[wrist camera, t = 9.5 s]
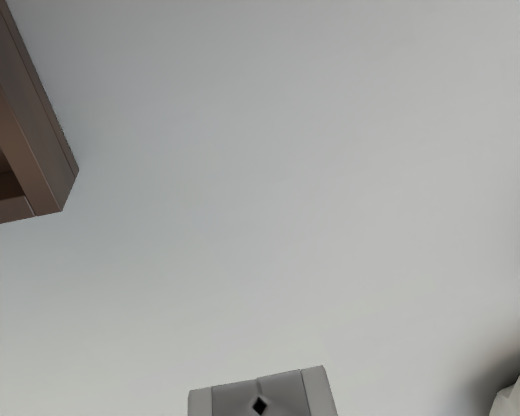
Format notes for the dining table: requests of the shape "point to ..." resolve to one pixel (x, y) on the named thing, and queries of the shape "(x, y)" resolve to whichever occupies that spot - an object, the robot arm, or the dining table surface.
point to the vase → (507, 401)
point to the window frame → (28, 136)
